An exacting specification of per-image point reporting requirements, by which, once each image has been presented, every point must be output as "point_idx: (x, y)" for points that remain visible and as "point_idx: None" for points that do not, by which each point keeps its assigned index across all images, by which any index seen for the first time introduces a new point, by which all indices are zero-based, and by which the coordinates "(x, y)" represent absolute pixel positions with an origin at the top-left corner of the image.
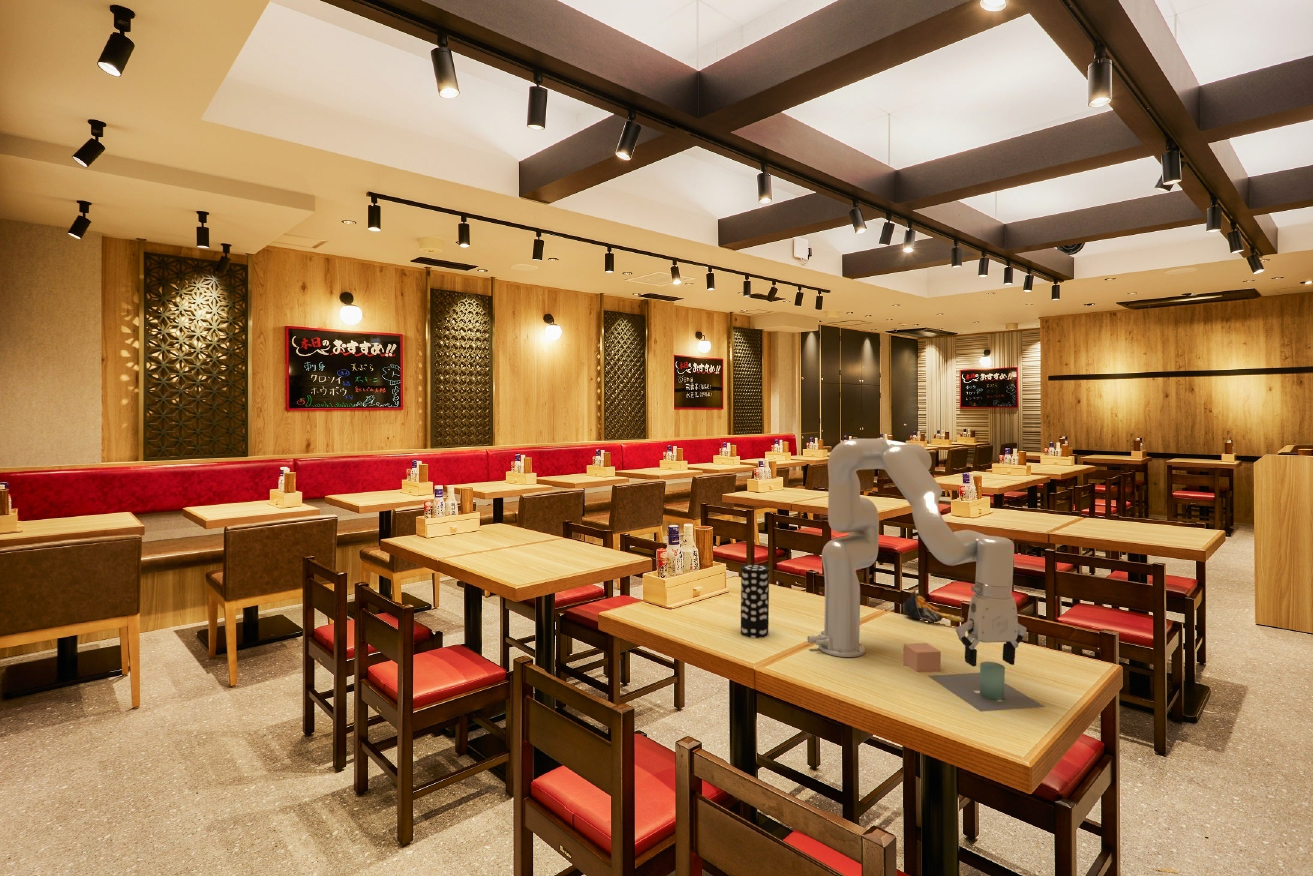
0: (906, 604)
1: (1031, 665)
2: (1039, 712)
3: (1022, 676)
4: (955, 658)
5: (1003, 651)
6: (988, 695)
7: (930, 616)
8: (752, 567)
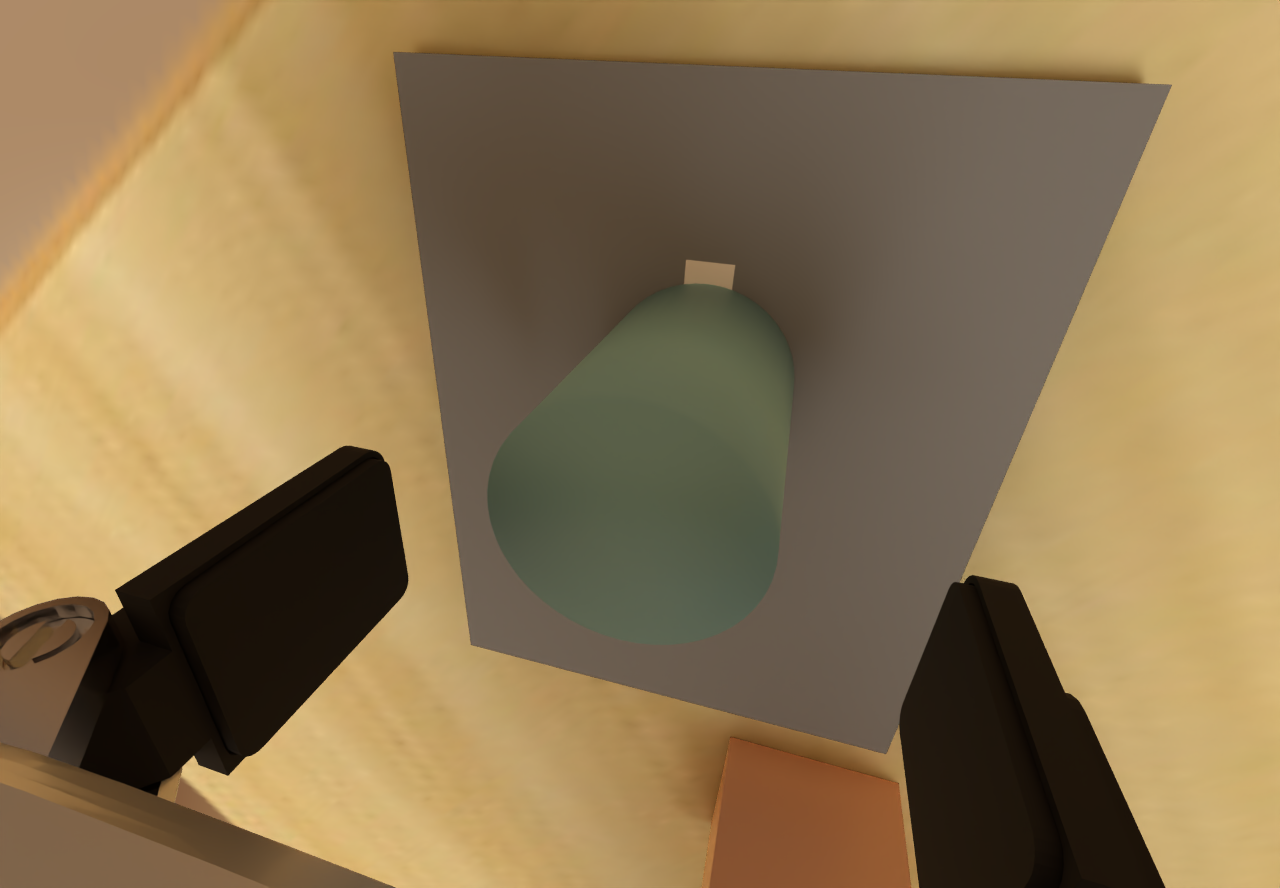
0: None
1: None
2: (481, 46)
3: None
4: (501, 796)
5: (329, 663)
6: (782, 343)
7: None
8: None
